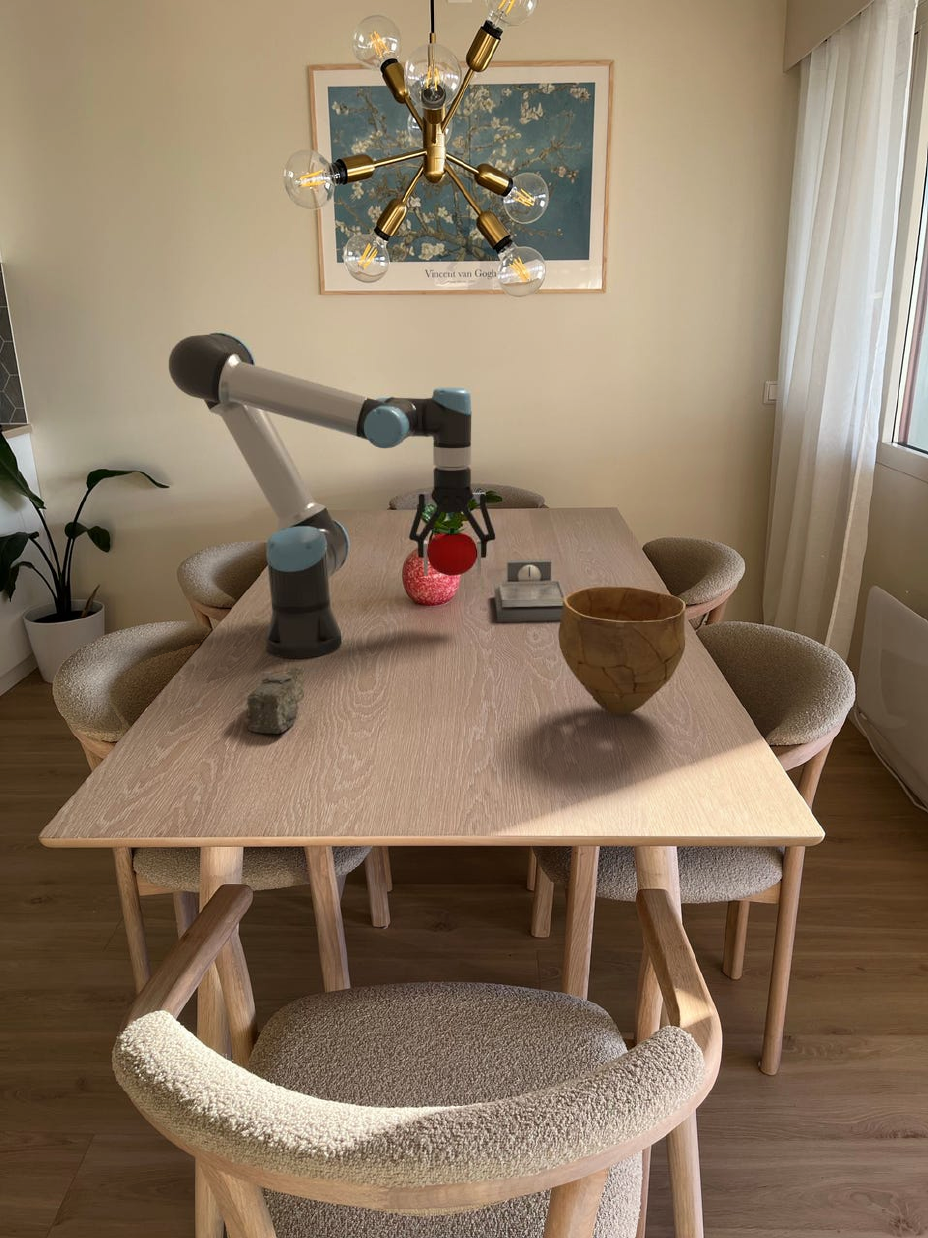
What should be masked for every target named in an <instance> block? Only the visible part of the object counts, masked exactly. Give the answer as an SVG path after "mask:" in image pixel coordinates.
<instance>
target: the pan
mask: <svg viewBox="0 0 928 1238" xmlns="http://www.w3.org/2000/svg"><path fill="white" fill-rule="evenodd" d="M562 585H563V584H562V581H561V580H560V579H556V580H555V579H554V580H553V579H551V580H547V581H507V580H506V581H498V587H499V591H500V597H501V603H502V607H526V606H563V598H565V596H566V595H567V593H566V591H565V592H564V590H565V588H564V586H563V587H562ZM563 588H564V589H563ZM565 593H566V594H565Z"/></svg>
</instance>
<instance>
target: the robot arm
mask: <svg viewBox="0 0 928 1238" xmlns="http://www.w3.org/2000/svg"><path fill="white" fill-rule="evenodd" d="M168 371H169V372H168V373H169V374H170V377H171V379H172V382H173V383H174V384H175V385H176V387H177V389H179V390H181V392H183V393H184V394H186V395H188V396H190V397H193V398H195V399H201V400H203V401H204V403H205V405H206V406H207V408H208V411H209V412H210V413H213V414H215V415H218V416H220V417H221V418H222V420H223V423H224V424H225V426H226V427H227V429H228V431H229V433H230V435H231V437H232V438H233V440H234V442H235V444H236V447H238V450H239V451H240V453H241V455H242V456H243V459H244V460H245V462H246V464H247V465H248V467H249V469H250V471H251V473H252V475H253V477H254V478H255V481H256V483H257V484H258V486H259V488H260V489H261V491H262V494H263V495H264V497H265V499H266V500H267V502H268V504H269V506H270V508H271V509H272V512H273V513H274V515H275V517H276V520H277V525H276V528H275V532H274V533H272V534H271V536H270V537H268V539H267V542H266V555H265V558H266V561H267V569H268V572H267V573H268V581H269V588H270V589H269V590H270V591H269V592H270V601H271V616H270V618H269V619H270V620H269V625H268V627H267V632H266V638H265V641H266V650H267V651H268V652H269V653H270V654H271V655H274V656H276V657H277V656H278V657H280V658H281V657H282V658H288V659H289V658H292V659H301V658H303V659H304V658H312V657H319V656H323V655H326V654H329V653H332V652H334V651H335V650H337V649H338V648H340V647H341V645H342V644H343V643H342V632H341V629H340V627H339V624H338V622H337V619H336V617H335V614H334V611H333V610H332V606H331V595H330V594H331V593H330V580H329V579H330V578H331V577H332V576H333V575H334V574H335V573H337V572H338V571H339V570H340V569H341V568H342V567H343V565H344V564H345V562H346V561H347V558H348V556H349V553H350V547H351V545H350V544H351V543H350V538H349V535H348V532H347V531H346V529H345V527H344V526H343V525H342V523H340V522H339V521H338V520H336V519H333V518H332V516H331V515H330V513H329V511H328V509H327V507H326V506H325V505H324V504H321V503H317V502H316V501H315V500H314V498H313V496H312V494H311V492H310V491H309V489H308V487H307V485H306V483H305V481H304V479H303V478H302V475H301V474H300V472H299V470H298V468H297V466H296V464H295V463H294V460H293V459H292V457H291V454H290V453H289V450H288V449H287V447H286V445H285V444H284V442H283V439H282V437H281V436H280V434H279V432H278V430H277V428H276V427H275V424H274V423H273V421H272V419H271V418H270V416H269V413H272V414H276V415H278V416H279V415H280V416H282V417H286V418H290V419H293V420H297V421H301V422H304V423H307V424H311V425H315V426H318V427H321V428H325V429H329V430H332V431H336V432H338V433H339V432H340V433H344V434H345V435H346V434H347V435H350V436H353V437H357V438H360V439H362V440H367V441H368V442H369V443H370V444H371V445H372V446H374V447H377V448H380V449H391V448H394V447H397V446H399V445H400V444H401V443H403V442H404V441H405V440H406V439H407V438H409V437H411V438H412V437H413V438H414V437H417V438H419V437H423V438H424V437H426V438H428V437H432V438H433V448H432V449H433V465H434V466H435V467H434V469H433V489H432V492H424V491H420V492H418V506H417V509H416V512H415V516H414V519H413V522H412V525H411V529H410V532H409V536H408V538H409V540H410V541H414V542H416V543H417V556H418V558H419V559H423V575H428V573H429V569H428V567H429V563H428V562H429V559H428V555H427V550H428V546H429V543H428V540H426V539H427V537H428V535H429V534H430V532H431V530H432V529H433V527H434V526H435V524H436V522H437V521H438V519H439V517H440V516H441V515H442V513H444V514H451V513H452V514H453V513H455V514H460V513H462V514H463V515H464V517H465V518H466V519H467V520H466V521H468V523H469V525H470V527H471V528H472V530H473V531H474V533H475V534H476V536H477V538H478V539H479V540H477V541H476V548H477V559H476V575H482V559H485V558H487V556H488V555H487V553H488V552H487V545H488V543H489V542H490V541H494V540H496V532H495V530H494V527H493V524H492V519H491V518H490V514H489V510H488V507H487V503H486V501H487V495H486V492H485V491H481V492H473V490H472V488H471V487H472V485H471V483H472V477H471V476H472V473H471V472H472V469H471V468H470V466H471V465H472V458H471V457H472V445H471V444H472V405H471V404H472V402H471V400H472V399H471V393H470V391H469V390H468V389H467V388H464V387H437V388H435V389H434V390H433V392H432V395H431V397H429V398H427V397H426V398H415V397H414V398H413V397H394V396H390V397H379V398H375V399H373V398H369V397H368V396H367V397H366V396H364V395H359V394H355V393H352V392H349V391H345V390H341V389H338V388H334V387H332V386H329V385H324V384H321V383H319V382H314V381H310V380H308V379H307V380H306V379H303V378H300V377H296V376H292V375H290V374H286V373H282V372H279V371H275V370H272V369H268V368H266V367H262V366H258V365H256V361H255V357H254V354H253V352H252V351H251V349H250V347H249V346H248V345H247V344H246V343H245V342H244V341H243V340H241V339H240V338H238V337H236V336H234V335H231V334H227V333H223V332H212V333H209V334H197V335H190V336H188V337H185V338H183V339H181V340H179V342H177V343H176V344H175V345H174V347H173V348H172V350H171V352H170V355H169V358H168ZM431 499H432V501H433V502H434V503H435V505H436V507H435V509H434V511H433V512H432V514H431V516H430V517H429V519H428V521H427V522H426V524H425V525H424V527H423V528H422V531H421V532H420V533H419V534H418V533H417V532H418V529H419V526H420V523H421V520H422V516H423V513H424V510H425V506H426V504H429V503H430V502H429V501H430V500H431ZM472 500H475V503H476V504H477V505H479V508H480V511H481V515H482V518H483V521H484V524H485V527H486V530H487V534H485V533H484V531H483V529H482V527H481V526H480V524H479V522H478V521H477V519H476V517H475V516H474V515H473V513H472V511H471V509H470V508H469V506H468V505H470V502H471V501H472Z"/></svg>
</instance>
